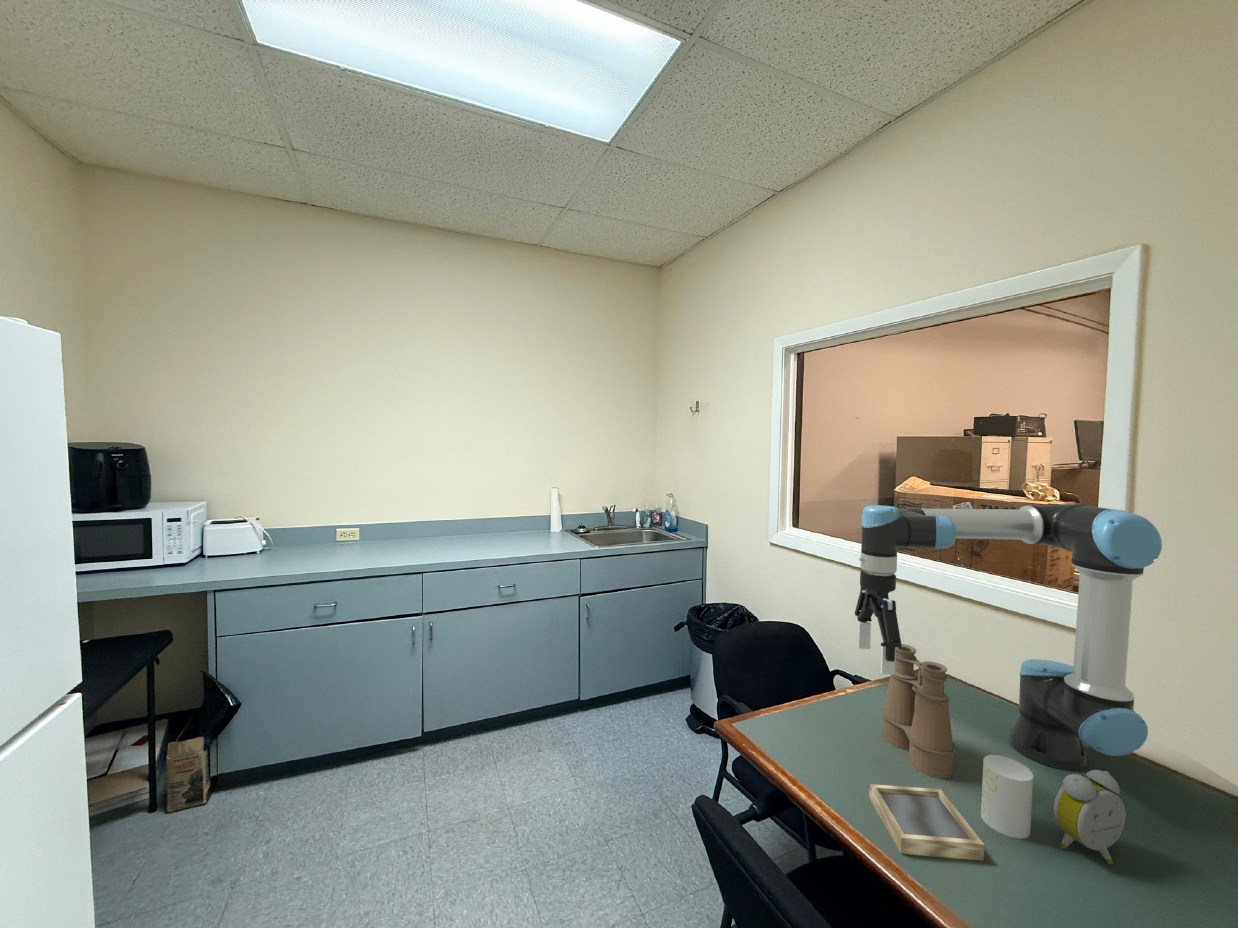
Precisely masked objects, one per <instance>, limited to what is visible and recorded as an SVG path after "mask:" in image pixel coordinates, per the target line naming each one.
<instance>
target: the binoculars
mask: <svg viewBox="0 0 1238 928" xmlns="http://www.w3.org/2000/svg"><path fill="white" fill-rule="evenodd" d="M916 653H917V648H916V647H914V646H912V645H909V644H904V643H901V647H896V652H895V675H893V674H889V675H890V676H889V680H888V684H887V690H886V694H885V695H886V696H885V700H884V705H883V708H882V709H881V710H880V714H881V716H882V724H881V725H882V729H881V738H882V739H883V740H884V741H885V742H886V743H887V744H889V745H891V746H893V747H896V748H898V749H901V750H906V751H908V758H907V759H908V764H910V766H911V767H912V768H913V769H914V770H916V771H917V772H920V773H921V774H923V775H926V776H927V777H930V778H931V777H932V778H935V779H949V778H950V777H952V775H953V773H954V772H953V771H954V770H953V762H954V759H953V758H954V752H956V745H955V743H954V742H953V735H952V725H951V717H950V709H949V702H950V698H949V696H948V695H947V693H945V682H946V681H947V680H948V677H947V675H946V672H948V667H946V666H945V665H944V664H941V663H939V662H935V661H929V660H927V661H925V660H924V661H922V662H921V661H919V659H917V655H916V656H915V654H916ZM915 666H916V667H917V668H918V672H917V673H918V674H917V673H915V672H914V670H915V669H914V667H915Z"/></svg>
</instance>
